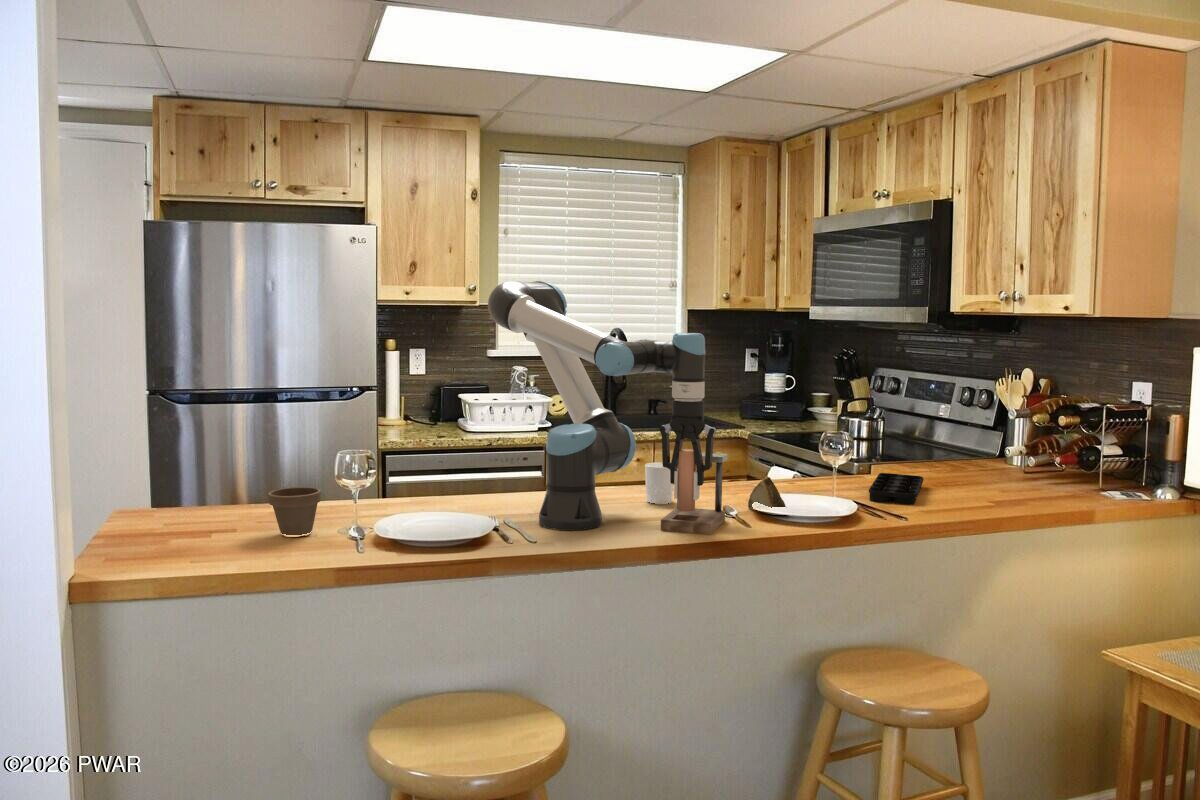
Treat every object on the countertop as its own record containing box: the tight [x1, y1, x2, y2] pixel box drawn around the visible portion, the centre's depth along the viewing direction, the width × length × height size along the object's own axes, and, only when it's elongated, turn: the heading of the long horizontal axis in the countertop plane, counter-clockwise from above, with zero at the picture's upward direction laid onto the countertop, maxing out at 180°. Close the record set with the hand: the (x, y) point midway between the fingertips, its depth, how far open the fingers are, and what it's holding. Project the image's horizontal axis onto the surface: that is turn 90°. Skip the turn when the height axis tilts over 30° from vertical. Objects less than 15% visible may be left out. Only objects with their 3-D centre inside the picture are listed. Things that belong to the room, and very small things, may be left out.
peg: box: [678, 449, 697, 512], centre depth 234 cm, size 4×4×14 cm
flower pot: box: [267, 486, 322, 535], centre depth 225 cm, size 12×11×10 cm
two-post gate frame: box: [676, 452, 728, 512], centre depth 243 cm, size 12×5×14 cm, turn 71°
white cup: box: [644, 462, 674, 505], centre depth 264 cm, size 8×8×10 cm
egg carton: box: [868, 472, 925, 506], centre depth 278 cm, size 18×30×4 cm, turn 170°
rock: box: [747, 475, 787, 513], centre depth 254 cm, size 11×9×10 cm
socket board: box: [660, 507, 726, 535], centre depth 238 cm, size 12×15×2 cm
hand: (686, 498), depth 235 cm, fingers closed on peg, 4 cm apart
